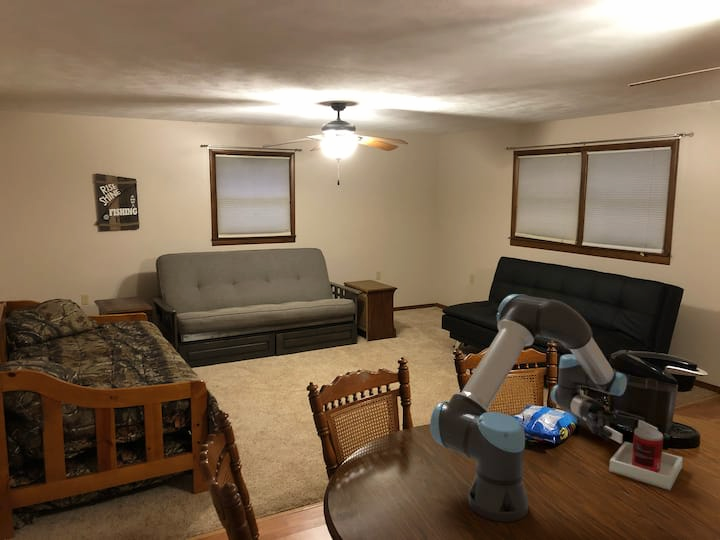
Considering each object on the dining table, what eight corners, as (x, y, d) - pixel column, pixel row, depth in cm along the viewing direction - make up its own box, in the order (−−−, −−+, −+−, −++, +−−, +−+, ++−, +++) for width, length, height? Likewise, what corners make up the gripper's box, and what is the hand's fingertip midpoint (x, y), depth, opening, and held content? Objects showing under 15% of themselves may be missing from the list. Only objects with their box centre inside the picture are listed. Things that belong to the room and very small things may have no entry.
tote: (670, 490, 152) (671, 478, 151) (609, 471, 162) (610, 460, 161) (681, 468, 164) (682, 457, 163) (624, 451, 174) (624, 441, 173)
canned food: (653, 461, 166) (656, 427, 165) (665, 475, 158) (668, 439, 157) (626, 460, 167) (629, 426, 165) (637, 473, 159) (640, 438, 158)
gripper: (616, 415, 189) (669, 441, 170) (557, 424, 181) (605, 453, 161) (618, 394, 188) (671, 418, 169) (558, 403, 180) (607, 429, 160)
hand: (639, 435), depth 165 cm, fingers open, 13 cm apart
